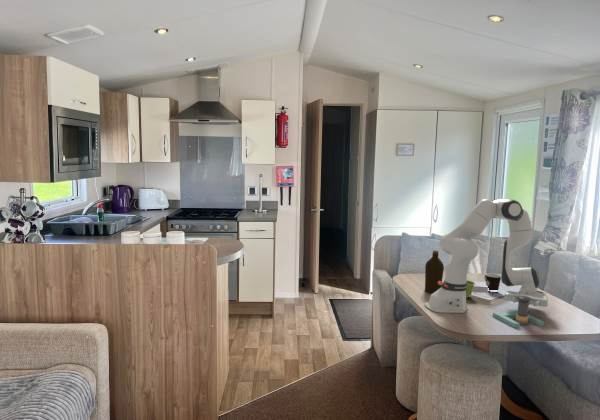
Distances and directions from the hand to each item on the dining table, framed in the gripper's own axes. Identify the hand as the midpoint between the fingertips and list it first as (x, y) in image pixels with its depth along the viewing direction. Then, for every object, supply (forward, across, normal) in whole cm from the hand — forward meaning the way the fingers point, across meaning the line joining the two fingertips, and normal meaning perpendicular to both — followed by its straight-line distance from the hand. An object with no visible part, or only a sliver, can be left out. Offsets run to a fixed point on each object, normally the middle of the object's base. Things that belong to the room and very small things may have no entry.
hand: (524, 302), depth 232 cm
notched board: (+4, -2, +9) cm, 10 cm away
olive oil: (-21, -51, +9) cm, 56 cm away
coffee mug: (-45, -22, +9) cm, 51 cm away
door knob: (+6, 0, +9) cm, 11 cm away
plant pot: (-22, -33, +9) cm, 41 cm away
